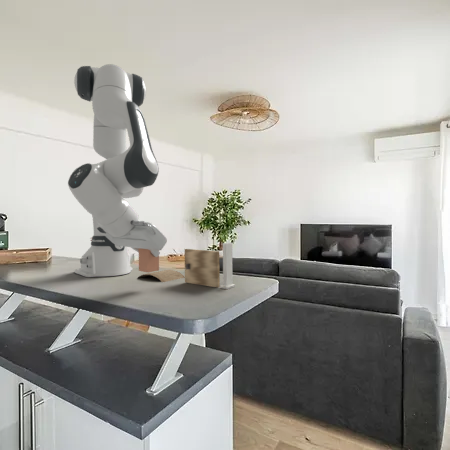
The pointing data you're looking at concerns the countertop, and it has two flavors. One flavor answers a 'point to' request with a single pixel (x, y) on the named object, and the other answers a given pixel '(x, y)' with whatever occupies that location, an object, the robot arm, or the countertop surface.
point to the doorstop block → (147, 261)
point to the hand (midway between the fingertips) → (150, 254)
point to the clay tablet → (165, 275)
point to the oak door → (202, 267)
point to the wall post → (227, 266)
